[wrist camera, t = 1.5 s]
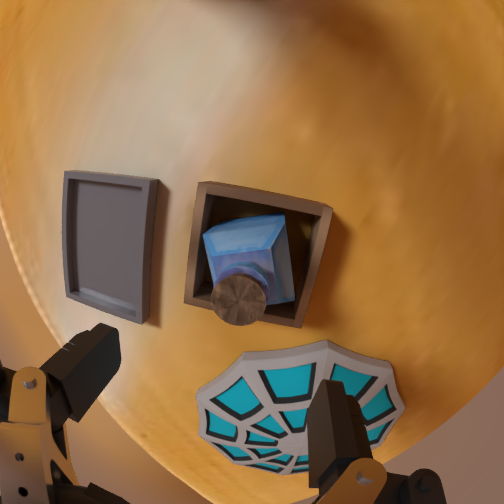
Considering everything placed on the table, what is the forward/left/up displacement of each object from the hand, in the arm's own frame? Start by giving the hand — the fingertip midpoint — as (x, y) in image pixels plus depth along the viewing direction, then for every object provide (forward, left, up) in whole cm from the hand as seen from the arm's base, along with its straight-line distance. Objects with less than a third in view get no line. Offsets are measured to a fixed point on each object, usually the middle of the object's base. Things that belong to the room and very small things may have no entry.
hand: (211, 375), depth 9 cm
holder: (0, 0, -18) cm, 18 cm away
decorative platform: (+24, +11, -19) cm, 32 cm away
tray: (+3, -17, -18) cm, 25 cm away
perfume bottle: (0, 0, -19) cm, 19 cm away
